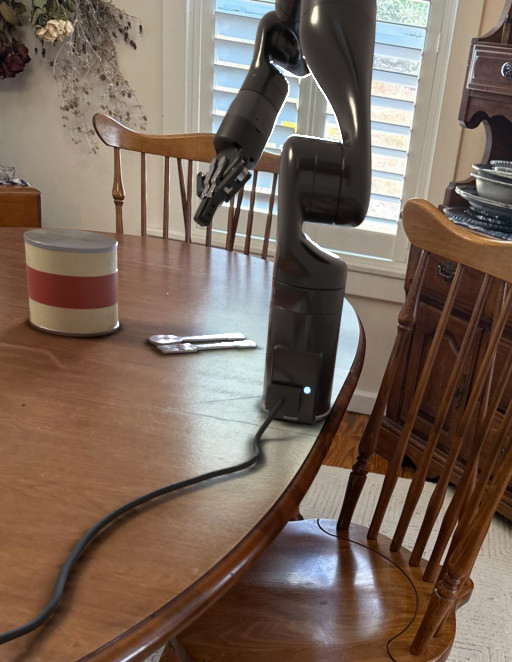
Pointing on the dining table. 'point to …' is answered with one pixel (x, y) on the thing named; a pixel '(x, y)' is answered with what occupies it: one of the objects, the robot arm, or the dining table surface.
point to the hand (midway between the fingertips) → (200, 223)
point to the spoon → (191, 338)
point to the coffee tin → (72, 282)
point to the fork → (203, 347)
